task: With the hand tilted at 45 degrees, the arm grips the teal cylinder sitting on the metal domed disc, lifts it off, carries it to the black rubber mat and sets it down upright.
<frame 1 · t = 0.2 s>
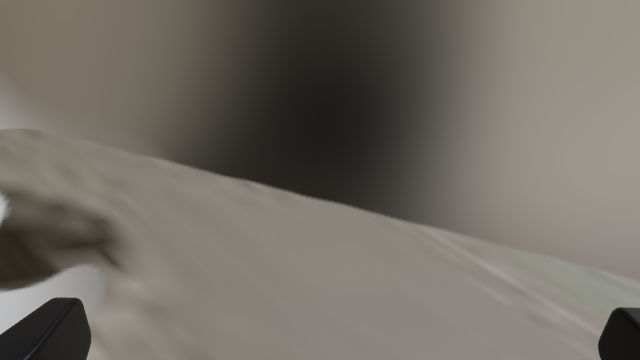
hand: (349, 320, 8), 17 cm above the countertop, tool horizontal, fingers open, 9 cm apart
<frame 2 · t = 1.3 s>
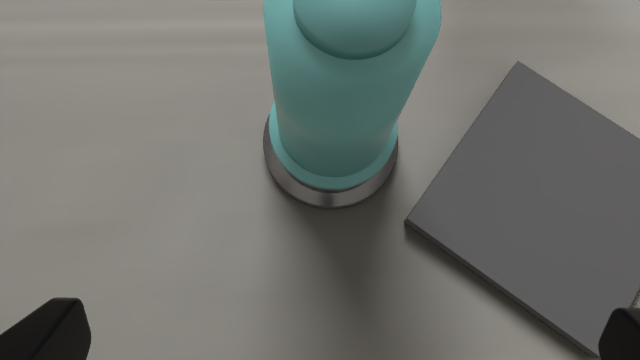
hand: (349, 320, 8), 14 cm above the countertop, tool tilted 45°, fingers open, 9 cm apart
teal cylinder: (332, 129, 22), point 2 cm above the countertop, touching metal domed disc
mat: (548, 201, 23), on the countertop
metal domed disc: (330, 144, 24), on the countertop
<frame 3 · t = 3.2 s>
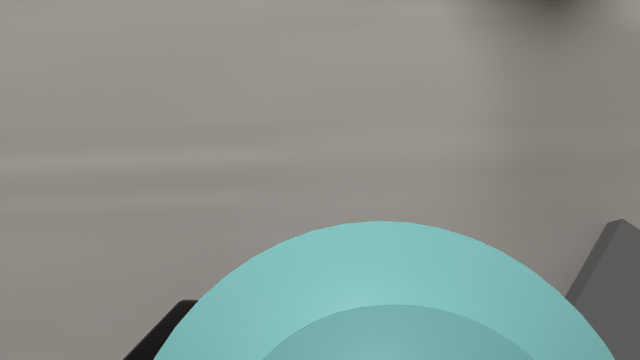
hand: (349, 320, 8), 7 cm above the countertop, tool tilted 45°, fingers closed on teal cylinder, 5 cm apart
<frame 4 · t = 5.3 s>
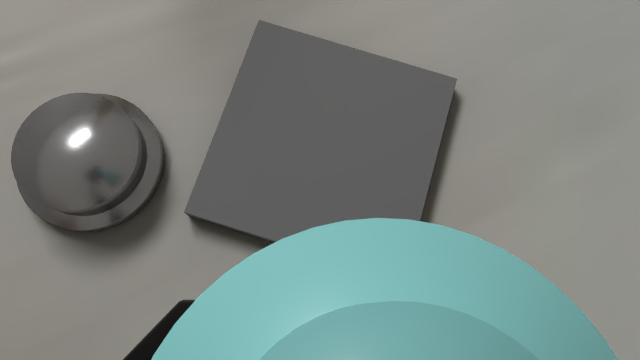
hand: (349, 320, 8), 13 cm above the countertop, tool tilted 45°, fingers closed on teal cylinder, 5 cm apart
mat: (326, 147, 23), on the countertop
metal domed disc: (94, 163, 23), on the countertop
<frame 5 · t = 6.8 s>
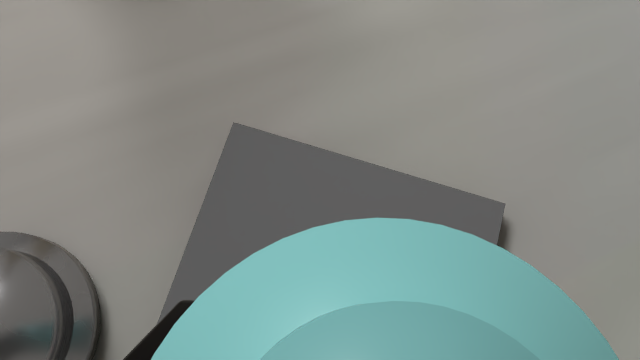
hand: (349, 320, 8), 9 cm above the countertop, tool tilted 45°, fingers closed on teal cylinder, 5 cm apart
mat: (325, 302, 17), on the countertop
metal domed disc: (1, 330, 16), on the countertop
when the fingers open (7 cm above the countertop, at t = 7.7 s): teal cylinder drops 1 cm, resting on mat.
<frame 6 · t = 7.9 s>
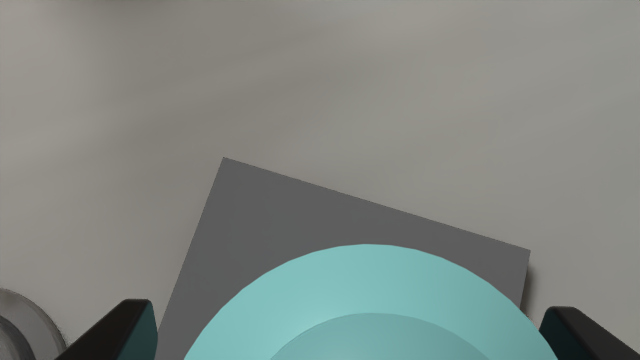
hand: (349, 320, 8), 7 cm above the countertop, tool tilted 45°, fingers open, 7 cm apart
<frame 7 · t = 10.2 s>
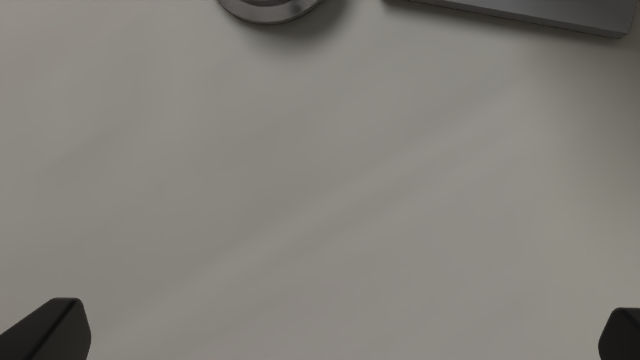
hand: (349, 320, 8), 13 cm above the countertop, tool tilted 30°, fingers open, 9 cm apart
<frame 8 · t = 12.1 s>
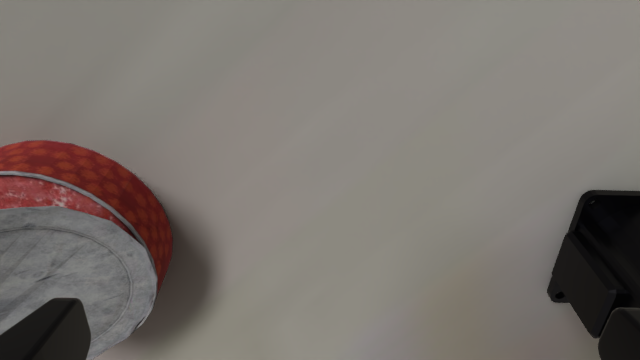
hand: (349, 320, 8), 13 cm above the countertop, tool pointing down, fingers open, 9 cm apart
canned food: (72, 228, 24), on the countertop
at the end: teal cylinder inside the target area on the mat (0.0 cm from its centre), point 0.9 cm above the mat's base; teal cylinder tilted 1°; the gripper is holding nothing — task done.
